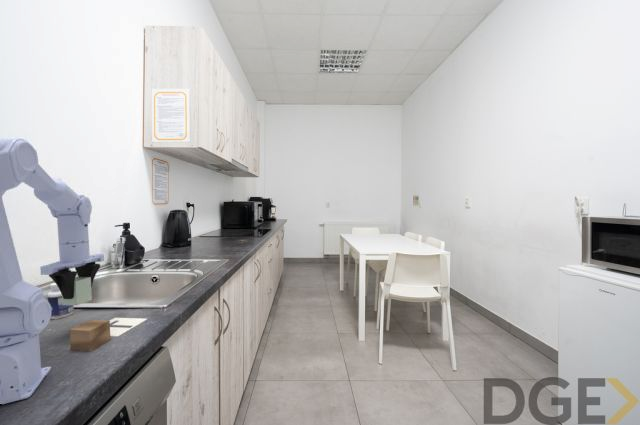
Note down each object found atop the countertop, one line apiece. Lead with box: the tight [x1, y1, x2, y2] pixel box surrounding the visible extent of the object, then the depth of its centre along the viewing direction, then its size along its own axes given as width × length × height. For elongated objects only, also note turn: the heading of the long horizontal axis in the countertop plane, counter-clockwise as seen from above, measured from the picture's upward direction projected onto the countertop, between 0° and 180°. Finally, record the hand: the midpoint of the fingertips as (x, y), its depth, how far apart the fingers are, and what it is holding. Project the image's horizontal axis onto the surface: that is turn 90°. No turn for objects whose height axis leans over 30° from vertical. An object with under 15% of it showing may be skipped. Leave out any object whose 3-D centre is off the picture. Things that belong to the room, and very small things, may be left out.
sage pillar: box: [62, 276, 93, 306], centre depth 71 cm, size 4×4×6 cm
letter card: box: [109, 317, 148, 337], centre depth 73 cm, size 10×10×1 cm
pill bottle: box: [47, 282, 75, 320], centre depth 81 cm, size 5×5×10 cm
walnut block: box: [69, 319, 112, 352], centre depth 64 cm, size 5×5×5 cm
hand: (77, 295), depth 71 cm, fingers closed on sage pillar, 4 cm apart
